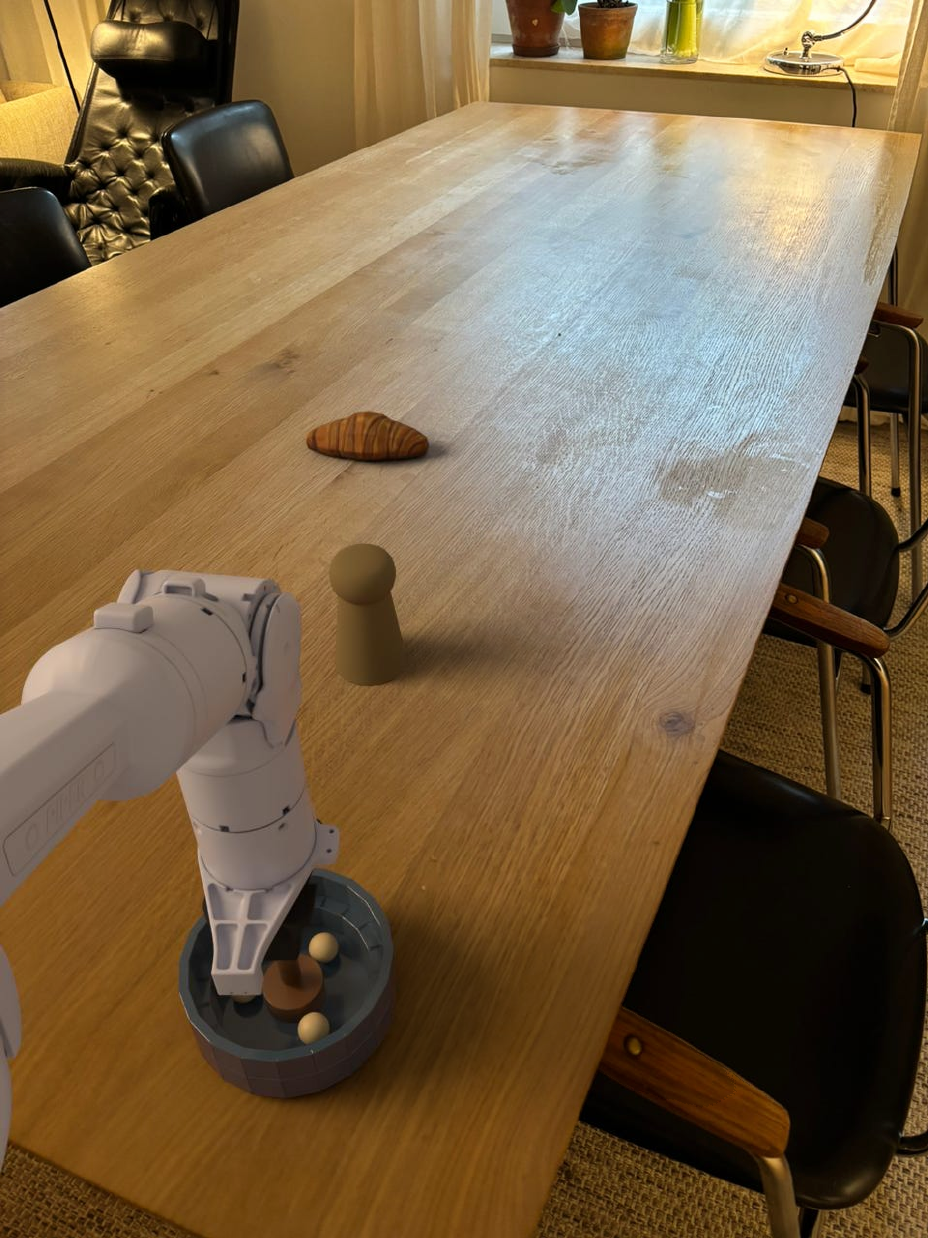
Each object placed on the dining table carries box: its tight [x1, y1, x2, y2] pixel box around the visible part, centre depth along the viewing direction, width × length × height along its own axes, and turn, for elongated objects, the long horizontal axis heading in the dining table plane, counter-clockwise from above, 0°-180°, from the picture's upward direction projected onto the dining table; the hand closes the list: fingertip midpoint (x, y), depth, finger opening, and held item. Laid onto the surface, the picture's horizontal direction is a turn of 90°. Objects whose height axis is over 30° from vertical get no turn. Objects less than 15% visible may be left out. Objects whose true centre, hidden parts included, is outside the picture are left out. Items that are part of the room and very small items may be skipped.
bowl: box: [177, 867, 399, 1099], centre depth 59 cm, size 12×12×5 cm
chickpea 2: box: [309, 933, 338, 963], centre depth 61 cm, size 2×2×2 cm
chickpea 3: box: [298, 1012, 329, 1045], centre depth 57 cm, size 2×2×2 cm
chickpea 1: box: [230, 995, 256, 1003], centre depth 59 cm, size 2×2×2 cm
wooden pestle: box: [262, 954, 326, 1023], centre depth 57 cm, size 4×4×9 cm
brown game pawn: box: [328, 543, 408, 687], centre depth 80 cm, size 6×6×11 cm
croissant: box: [305, 410, 430, 462], centre depth 106 cm, size 14×7×5 cm, turn 84°
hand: (282, 940), depth 56 cm, fingers closed on wooden pestle
